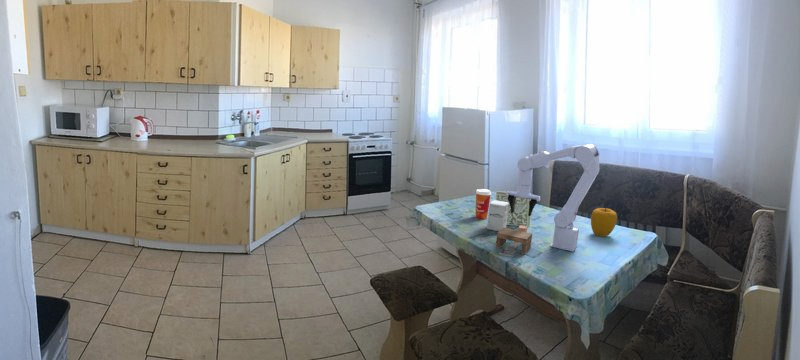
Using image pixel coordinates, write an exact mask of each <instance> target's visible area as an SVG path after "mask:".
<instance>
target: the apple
mask: <svg viewBox="0 0 800 360" xmlns="http://www.w3.org/2000/svg"><path fill="white" fill-rule="evenodd" d="M617 221H618V213H617V212H616V211H614V210H612V209H611V208H607V207H605V208H604V207H597V208H595V209H594V210H593V211H592V213H591V216H590V226H591V230H592V233H593V235H595V236H597V237H601V238H603V237H604V238H605V237H608V236H609V235H610V234H611V233H612V232H613V231H614V229H615V227H616V226H617Z"/></svg>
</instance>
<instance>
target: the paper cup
mask: <svg viewBox="0 0 800 360" xmlns="http://www.w3.org/2000/svg"><path fill="white" fill-rule="evenodd" d="M491 195H492V192H491V190H490V189H487V188H486V189H485V188H479V189H478V188H477V189H476V191H475V219H478V220H483V221H484V220H488V215H489V206H490V203H491V202H490V201H491Z"/></svg>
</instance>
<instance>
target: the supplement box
mask: <svg viewBox="0 0 800 360" xmlns="http://www.w3.org/2000/svg"><path fill="white" fill-rule="evenodd" d="M509 206H510V203H509V201H508V202H507V201H502V200H497V199H494V200H492V201H491V202H489V208H488V215H487V226H486V230H492V231H496V232H499V231H500V230H502V229H503V228H507V223H508V216H509V215H508V214H509V208H510V207H509Z"/></svg>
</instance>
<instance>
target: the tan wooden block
mask: <svg viewBox="0 0 800 360" xmlns="http://www.w3.org/2000/svg"><path fill="white" fill-rule="evenodd" d="M517 228H518V229H517V231H522V232H526V233H528V226H525V225H519V226H518V227H517ZM521 246H522V243H519V242H515V241H512V242H511V243H510V244H509V245H508V246H507V247H506V248H505V249H506V250H510V251H514V252H516V250H518V249H519V248H520V247H521Z"/></svg>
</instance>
